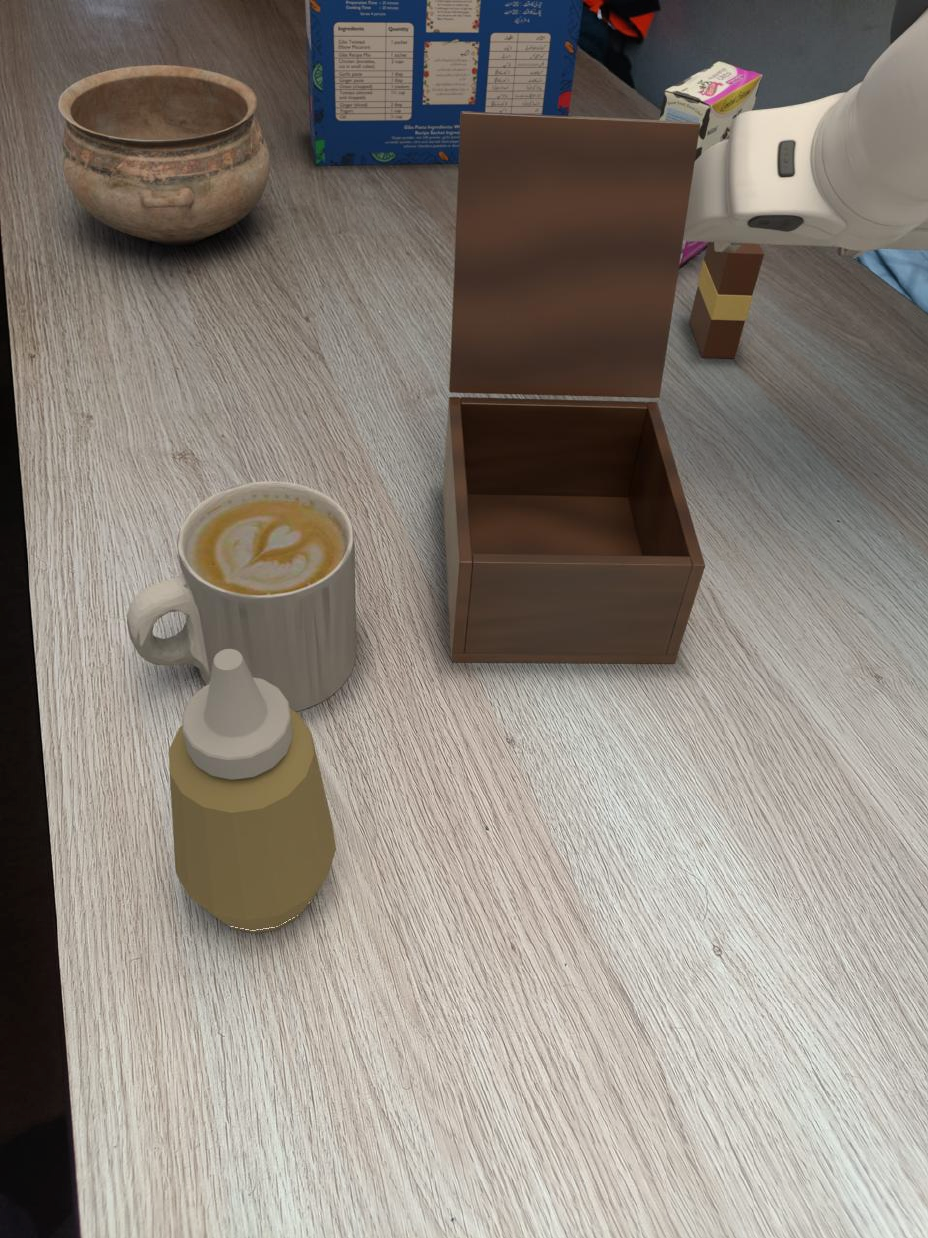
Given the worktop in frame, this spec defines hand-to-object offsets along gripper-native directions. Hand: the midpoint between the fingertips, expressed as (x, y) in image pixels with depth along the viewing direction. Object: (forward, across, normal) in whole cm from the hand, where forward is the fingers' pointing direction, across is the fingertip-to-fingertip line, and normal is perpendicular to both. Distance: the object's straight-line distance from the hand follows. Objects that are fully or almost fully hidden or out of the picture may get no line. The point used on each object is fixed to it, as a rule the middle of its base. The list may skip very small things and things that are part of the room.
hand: (785, 243), depth 79 cm
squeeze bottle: (-21, +36, +42) cm, 59 cm away
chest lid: (-9, +18, +5) cm, 21 cm away
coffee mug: (-9, +38, +31) cm, 50 cm away
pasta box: (+46, +24, -25) cm, 57 cm away
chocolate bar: (+18, 0, +3) cm, 18 cm away
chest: (-4, +18, +25) cm, 31 cm away
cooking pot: (+30, +50, -9) cm, 59 cm away
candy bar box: (+30, 0, -9) cm, 31 cm away
